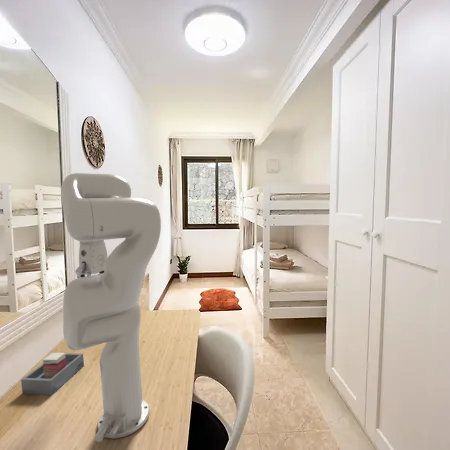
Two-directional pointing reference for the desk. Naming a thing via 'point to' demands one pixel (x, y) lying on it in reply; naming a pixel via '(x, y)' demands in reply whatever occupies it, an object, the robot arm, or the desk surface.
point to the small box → (53, 364)
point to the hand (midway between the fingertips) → (95, 288)
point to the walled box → (49, 386)
